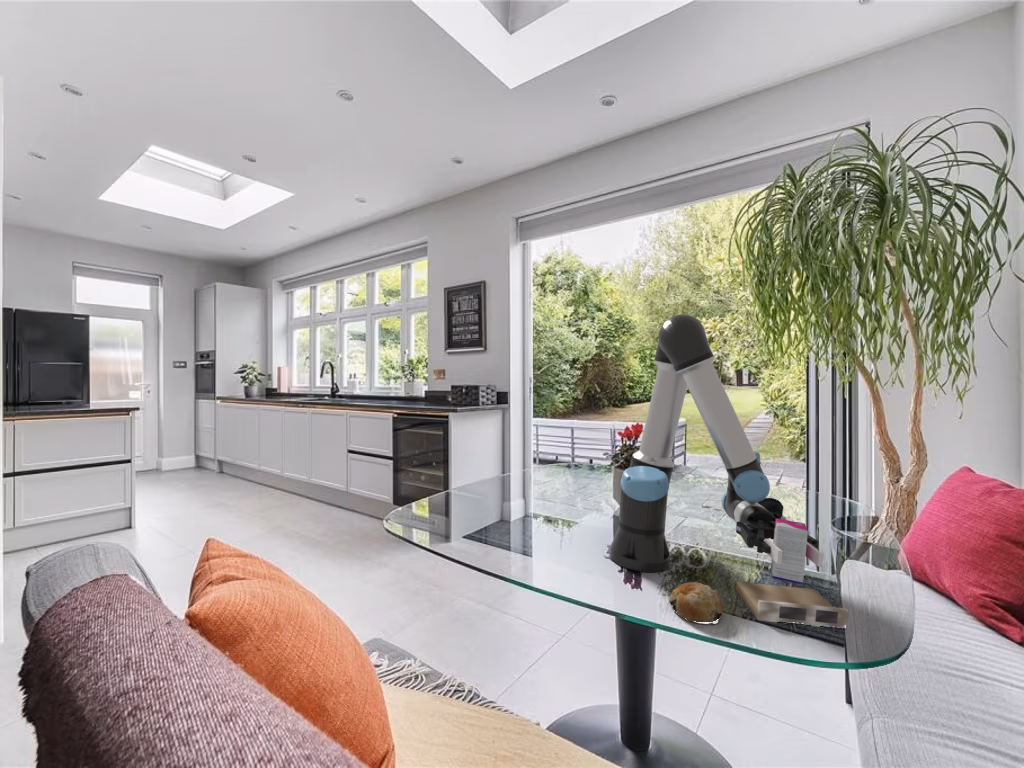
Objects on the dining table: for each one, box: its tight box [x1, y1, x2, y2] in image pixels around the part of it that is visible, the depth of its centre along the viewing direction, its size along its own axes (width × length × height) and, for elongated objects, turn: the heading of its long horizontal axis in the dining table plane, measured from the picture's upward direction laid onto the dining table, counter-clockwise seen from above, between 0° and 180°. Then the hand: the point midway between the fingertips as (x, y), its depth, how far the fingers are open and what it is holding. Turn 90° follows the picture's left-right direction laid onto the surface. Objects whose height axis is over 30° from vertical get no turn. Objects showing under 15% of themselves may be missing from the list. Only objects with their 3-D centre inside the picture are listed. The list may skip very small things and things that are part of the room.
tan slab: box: [735, 581, 849, 628], centre depth 104 cm, size 17×13×4 cm
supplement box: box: [770, 518, 809, 586], centre depth 102 cm, size 6×6×12 cm
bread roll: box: [668, 581, 724, 622], centre depth 100 cm, size 10×10×8 cm
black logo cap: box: [757, 497, 784, 519], centre depth 165 cm, size 9×11×18 cm
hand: (800, 558), depth 97 cm, fingers closed on supplement box, 7 cm apart
